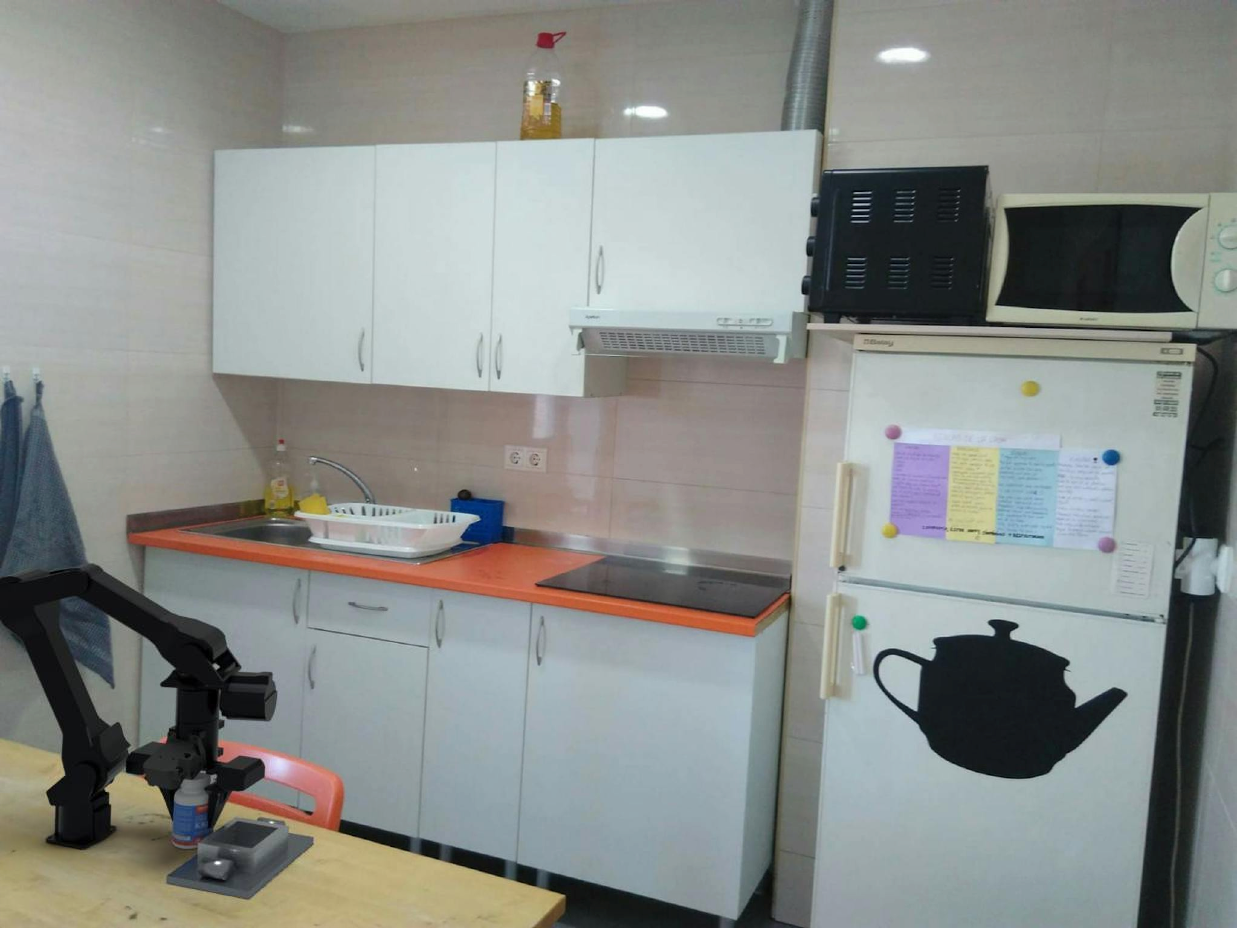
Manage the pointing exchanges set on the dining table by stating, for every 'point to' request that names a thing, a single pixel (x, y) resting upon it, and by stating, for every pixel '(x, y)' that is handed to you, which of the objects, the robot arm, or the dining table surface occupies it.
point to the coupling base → (241, 857)
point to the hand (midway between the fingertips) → (193, 823)
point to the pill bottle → (191, 813)
